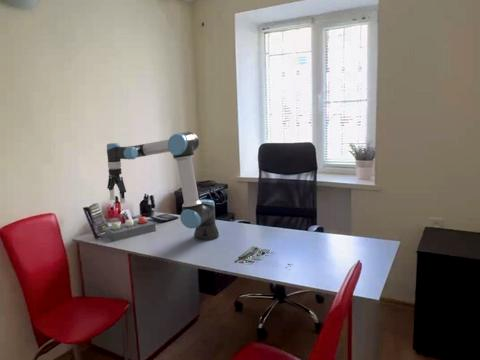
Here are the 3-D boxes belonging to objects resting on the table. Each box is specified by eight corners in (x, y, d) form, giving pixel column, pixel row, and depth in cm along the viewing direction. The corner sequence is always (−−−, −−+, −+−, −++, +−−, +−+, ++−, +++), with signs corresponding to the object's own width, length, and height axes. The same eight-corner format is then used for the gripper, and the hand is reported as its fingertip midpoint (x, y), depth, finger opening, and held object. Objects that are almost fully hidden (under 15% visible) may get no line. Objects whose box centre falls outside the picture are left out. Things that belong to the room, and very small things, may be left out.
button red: (147, 224, 248) (147, 217, 247) (140, 225, 245) (140, 219, 244) (144, 222, 252) (143, 216, 251) (137, 224, 248) (136, 217, 248)
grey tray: (155, 230, 246) (155, 223, 245) (114, 241, 228) (113, 233, 227) (144, 226, 258) (143, 218, 257) (104, 235, 240) (103, 228, 239)
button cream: (135, 227, 242) (134, 220, 241) (127, 228, 239) (127, 222, 238) (131, 225, 246) (131, 219, 245) (124, 227, 242) (123, 220, 242)
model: (290, 272, 177) (290, 269, 177) (234, 262, 191) (234, 259, 190) (304, 257, 196) (304, 254, 195) (252, 249, 209) (252, 246, 209)
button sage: (121, 230, 236) (121, 223, 235) (114, 232, 233) (113, 225, 232) (118, 228, 240) (117, 221, 239) (110, 230, 237) (110, 223, 236)
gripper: (130, 169, 226) (132, 203, 230) (111, 165, 244) (113, 197, 247) (118, 170, 221) (121, 206, 225) (100, 167, 238) (102, 199, 242)
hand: (117, 201), depth 236 cm, fingers open, 13 cm apart
